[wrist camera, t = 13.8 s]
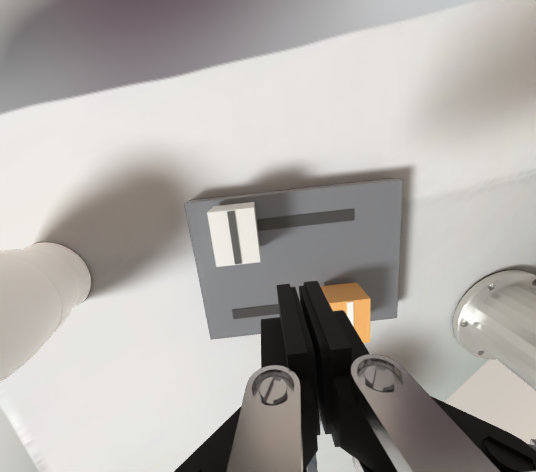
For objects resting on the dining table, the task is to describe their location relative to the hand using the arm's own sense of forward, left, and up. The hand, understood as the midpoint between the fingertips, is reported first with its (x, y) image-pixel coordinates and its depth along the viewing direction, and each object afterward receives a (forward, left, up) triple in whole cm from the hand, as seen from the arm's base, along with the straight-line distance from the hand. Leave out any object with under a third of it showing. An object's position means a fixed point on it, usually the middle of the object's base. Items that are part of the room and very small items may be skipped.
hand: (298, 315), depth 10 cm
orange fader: (-6, +10, -16) cm, 20 cm away
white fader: (+4, 0, -16) cm, 16 cm away
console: (-2, +5, -19) cm, 20 cm away
